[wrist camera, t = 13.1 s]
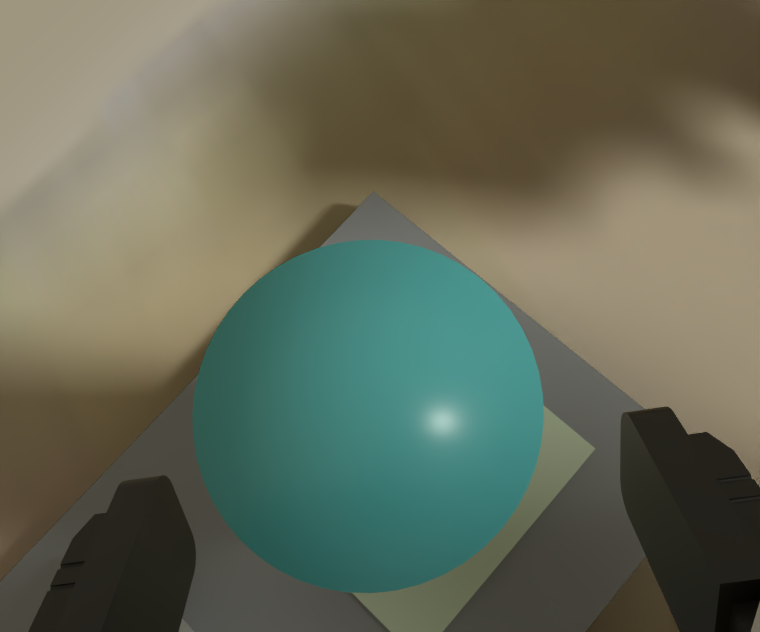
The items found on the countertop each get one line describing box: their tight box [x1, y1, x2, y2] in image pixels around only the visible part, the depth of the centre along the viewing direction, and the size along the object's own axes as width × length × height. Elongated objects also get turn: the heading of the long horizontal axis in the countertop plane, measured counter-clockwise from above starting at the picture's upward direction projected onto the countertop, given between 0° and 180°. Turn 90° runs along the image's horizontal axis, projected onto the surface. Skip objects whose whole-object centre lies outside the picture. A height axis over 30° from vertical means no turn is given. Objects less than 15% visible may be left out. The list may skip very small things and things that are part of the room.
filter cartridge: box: [192, 240, 544, 593], centre depth 16 cm, size 5×5×12 cm
